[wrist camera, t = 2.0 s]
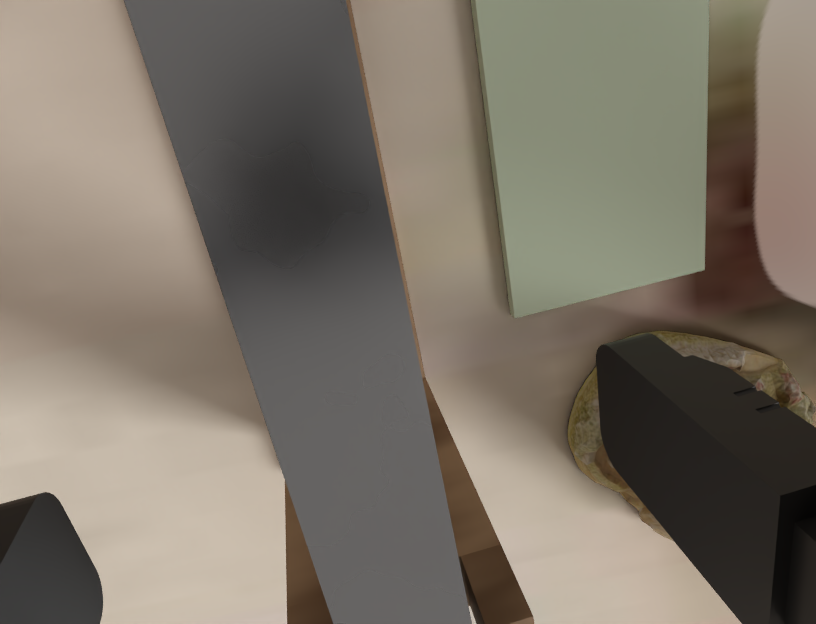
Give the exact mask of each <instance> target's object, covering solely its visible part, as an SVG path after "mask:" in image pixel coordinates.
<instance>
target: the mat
mask: <svg viewBox="0 0 816 624" xmlns="http://www.w3.org/2000/svg"><path fill="white" fill-rule="evenodd" d="M471 8H472V16H473V24H474V32H475V40H476V48H477V56H478V63H479V71H480V79H481V87H482V95H483V103H484V111H485V119H486V126H487V134H488V142H489V150H490V158H491V166H492V174H493V182H494V190H495V197H496V205H497V213H498V221H499V229H500V237H501V245H502V253H503V260H504V268H505V276H506V284H507V292H508V300H509V308H510V314H511V315H512V316H513V317H514V318H515V319H516V318H520V317H524V316H527V315H531V314H535V313H539V312H543V311H547V310H551V309H555V308H559V307H562V306H566V305H570V304H574V303H578V302H582V301H586V300H590V299H594V298H598V297H601V296H605V295H609V294H613V293H617V292H621V291H625V290H629V289H633V288H637V287H640V286H644V285H648V284H652V283H656V282H660V281H664V280H668V279H672V278H675V277H679V276H683V275H687V274H691V273H695V272H699V271H703V270H705V226H706V168H707V110H708V51H709V0H471Z"/></svg>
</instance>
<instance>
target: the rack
mask: <svg viewBox="0 0 816 624" xmlns="http://www.w3.org/2000/svg"><path fill="white" fill-rule="evenodd" d="M346 3H347V8H348V13H349V18H350V23H351V28H352V33H353V38H354V43H355V48H356V53H357V58H358V63H359V68H360V73H361V77H362V82H363V87H364V92H365V97H366V102H367V107H368V112H369V117H370V122H371V127H372V132H373V137H374V142H375V147H376V152H377V157H378V162H379V167H380V172H381V176H382V181H383V186H384V191H385V196H386V201H387V206H388V211H389V216H390V221H391V226H392V231H393V236H394V241H395V246H396V251H397V256H398V261H399V266H400V270H401V275H402V280H403V285H404V290H405V295H406V300H407V305H408V310H409V315H410V320H411V325H412V330H413V335H414V340H415V345H416V350H417V355H418V360H419V365H420V369H421V374H422V379H423V384H424V389H425V394H426V399H427V404H428V409H429V414H430V419H431V424H432V429H433V434H434V439H435V444H436V449H437V454H438V459H439V464H440V468H441V473H442V478H443V483H444V488H445V493H446V498H447V503H448V508H449V513H450V518H451V523H452V528H453V533H454V538H455V543H456V548H457V553H458V558H459V562H460V567H461V572H462V577H463V582H464V587H465V592H466V597H467V602H468V606H471V609H472V612H473V615H474V618H475V620H476V623H477V624H534V619H533V615H532V613H531V611H530V608H529V606H528V604H527V602H526V600H525V597H524V595H523V593H522V591H521V588H520V586H519V584H518V582H517V580H516V577H515V575H514V573H513V571H512V569H511V566H510V564H509V562H508V560H507V557H506V555H505V553H504V551H503V549H502V546H501V544H500V542H499V540H498V538H497V535H496V533H495V531H494V529H493V527H492V524H491V522H490V520H489V518H488V515H487V513H486V511H485V509H484V507H483V504H482V502H481V500H480V498H479V496H478V493H477V491H476V489H475V487H474V485H473V482H472V480H471V478H470V476H469V473H468V471H467V469H466V467H465V465H464V462H463V460H462V458H461V456H460V454H459V451H458V449H457V447H456V445H455V442H454V440H453V438H452V436H451V434H450V431H449V429H448V427H447V425H446V423H445V420H444V418H443V416H442V414H441V412H440V409H439V407H438V405H437V403H436V400H435V398H434V396H433V394H432V392H431V389H430V387H429V385H428V383H427V381H426V378H425V374H424V369H423V364H422V359H421V354H420V349H419V344H418V339H417V334H416V329H415V324H414V319H413V314H412V309H411V304H410V299H409V294H408V289H407V284H406V279H405V274H404V269H403V264H402V259H401V254H400V249H399V244H398V239H397V234H396V229H395V224H394V219H393V213H392V208H391V203H390V198H389V193H388V188H387V183H386V178H385V173H384V168H383V163H382V158H381V153H380V148H379V143H378V138H377V133H376V128H375V123H374V118H373V113H372V108H371V103H370V98H369V93H368V88H367V83H366V78H365V73H364V68H363V63H362V58H361V53H360V48H359V43H358V38H357V33H356V28H355V23H354V18H353V13H352V8H351V3H350V0H346ZM285 514H286V574H287V624H333V621H332V618H331V615H330V612H329V609H328V606H327V603H326V600H325V598H324V595H323V592H322V589H321V586H320V583H319V580H318V577H317V574H316V571H315V568H314V565H313V562H312V559H311V556H310V553H309V550H308V547H307V544H306V541H305V538H304V535H303V532H302V529H301V526H300V523H299V520H298V517H297V514H296V511H295V508H294V505H293V502H292V499H291V496H290V493H289V490H288V487H287V484H286V481H285Z"/></svg>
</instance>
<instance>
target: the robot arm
mask: <svg viewBox="0 0 816 624" xmlns="http://www.w3.org/2000/svg"><path fill="white" fill-rule="evenodd" d="M596 369H597V385H598V400H599V416H600V430H601V437H602V441H603V444H604V448H605V450H606V453H607V455H608V457H609V460H610V461H611V463H612V465H613V467H614V468H615V470H616V471H617V472H618V473H619V475H620V476H621V477H622V478H623V480H624V481H625V482H626V483H627V484H628V486H629V487H630V488H631V489H632V490H633V492H634V493H635V494H636V495H637V497H638V498H639V499H640V500H641V501H642V503H643V504H644V505H645V506H646V508H647V509H648V510H649V511H650V512H651V514H652V515H653V516H654V517H655V518H656V520H657V521H658V522H659V523H660V525H661V526H662V527H663V528H664V529H665V531H666V532H667V533H668V534H669V535H670V537H671V538H672V539H673V540H674V542H675V543H676V544H677V545H678V546H679V548H680V549H681V550H682V551H683V552H684V554H685V555H686V556H687V557H688V559H689V560H690V561H691V562H692V563H693V565H694V566H695V567H696V568H697V569H698V571H699V572H700V573H701V574H702V576H703V577H704V578H705V579H706V580H707V582H708V583H709V584H710V585H711V586H712V588H713V589H714V590H715V591H716V593H717V594H718V595H719V596H720V597H721V599H722V600H723V601H724V602H725V603H726V605H727V606H728V607H729V608H730V610H731V611H732V612H733V613H734V614H735V616H736V617H737V618H738V619H739V621H740V622H741V623H742V624H816V428H815V427H814V426H813V425H811V424H810V423H808V422H807V421H805V420H804V419H802V418H801V417H800V416H798V415H797V414H795V413H794V412H792V411H791V410H789V409H788V408H786V407H782V408H781V407H780V405H779V402H778V401H776V400H775V399H773V398H772V397H770V396H769V395H768V394H766V393H765V392H763V391H762V390H760V391H757V389H756V386H755V385H753V384H752V383H750V382H749V381H747V380H746V379H744V378H743V377H741V376H740V375H739V374H737V373H736V372H734V371H733V370H731V369H730V368H728V367H726V366H723V365H720V364H717V363H714V362H711V361H709V360H706V359H703V358H700V357H697V356H694V355H690V356H686V357H683V356H682V355H681V354H679V353H678V352H677V351H675V350H674V349H673V348H671V347H670V346H669V345H667V344H666V343H665V342H663V341H662V340H660V339H659V338H658V337H656V336H655V335H653V334H651V333H645V334H641V335H637V336H633V337H630V338H626V339H622V340H618V341H615V342H611V343H607V344H603V345H601V346H600V347H599V348H598V350H597V354H596ZM102 610H103V594H102V586H101V582H100V578H99V575H98V573H97V570H96V568H95V566H94V565H93V563H92V561H91V559H90V557H89V555H88V553H87V551H86V550H85V548H84V546H83V544H82V542H81V540H80V538H79V536H78V535H77V533H76V531H75V529H74V527H73V525H72V523H71V521H70V520H69V518H68V516H67V514H66V512H65V510H64V508H63V506H62V505H61V503H60V501H59V500H58V499H57V498H56V497H55V496H54V495H53V494H51V493H47V492H45V493H40V494H37V495H33V496H29V497H25V498H22V499H18V500H14V501H10V502H7V503H3V504H0V624H100V621H101V616H102Z"/></svg>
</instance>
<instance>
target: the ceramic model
mask: <svg viewBox="0 0 816 624" xmlns="http://www.w3.org/2000/svg"><path fill="white" fill-rule="evenodd" d="M645 333H651V334H653V335H655V336H656V337H658V338H659V339H660V340H662V341H663V342H665V343H666V344H667V345H669V346H670V347H671V348H673V349H674V350H675V351H677V352H678V353H679V354H681V355H682V356H683V357H686V356H690V355H694V356H697V357H700V358H703V359H706V360H709V361H711V362H714V363H717V364H720V365H723V366H726V367H728V368H730V369H731V370H733V371H734V372H736V373H737V374H739V375H740V376H741V377H743V378H744V379H746V380H747V381H749V382H750V383H752V384H753V385H755V386H756V389H757V391H760V390H762V391H763V392H765V393H766V394H768V395H769V396H770V397H772V398H773V399H775V400H776V401H778V402H779V405H780V407H781V408H782V407H786V408H788V409H789V410H791V411H792V412H794V413H795V414H797V415H798V416H800V417H801V418H802V419H804V420H805V421H807V422H808V423H810V424H813V419H812V416H813V414H814V412H815V406H814V404H813V403H812V402H811V400H810V399H809V397H808V396H807V395H806V394H805V392H801V389H800V386H799V383H798V382H797V381H796V379H795V378H794V376H793V375H792V373H791V372H790V370H789V369H788V367H787V366H786V365H785V363H784V362H783V360H782V359H777V358H775V357H772V356H770V355H767V354H764V353H761V352H758V351H755V350H753V349H749V348H746V347H742V346H740V345H737V344H735V343H733V342H726V341H721V340H718V339H714V338H709V337H705V336H699V335H692V334H688V333H679V332H669V331H653V332H645ZM645 333H639V334H635V335H631V336H628V337H626V338H630V337H633V336H637V335H641V334H645ZM626 338H624V339H626ZM568 442H569V445H570V449H571V451H572V453H573V455H574V458H575V461H576V463H577V465H578V467H579V468H580V470H581V471H582V472H583V473H584V474H586V475H587V476H588V477H589V478H590V479H592V480H593V481H594V482H596V483H599V484H601V485H603V486H605V487H607V488H610V489H612V490H614V491H616V492H619V493H620V494H621V495H622V496H623V497H624V499H625V500H626V501H627V502H629V503H630V504H631V505H633V506H634V507H635V508H636V509H637V510H638V511H639V516H640V518H641V520H642V521H643V522H644V523H646V524H647V525H649V526H650V527H651V528H652V529H653V530H654V531H655V532H657V533H658V534H660V535H662V536H664V537H666V538H668V539H670V540H672V541H674V540H673V539H672V538H671V537H670V535H669V534H668V533H667V532H666V531H665V529H664V528H663V527H662V526H661V525H660V523H659V522H658V521H657V520H656V518H655V517H654V516H653V515H652V514H651V512H650V511H649V510H648V509H647V508H646V506H645V505H644V504H643V503H642V501H641V500H640V499H639V498H638V497H637V495H636V494H635V493H634V492H633V490H632V489H631V488H630V487H629V486H628V484H627V483H626V482H625V481H624V480H623V478H622V477H621V476H620V475H619V473H618V472H617V471H616V470H615V468H614V467H613V465H612V463H611V461H610V460H609V457H608V455H607V453H606V450H605V448H604V444H603V441H602V437H601V430H600V416H599V400H598V385H597V369H596V367H595V368H594V370H593V371H592V373H591V374H590V375H589V377H588V378H587V379H586V380H585V382H584V384H583V386H582V387H581V389H580V390H579V392H578V394H577V397H576V399H575V402H574V405H573V409H572V412H571V416H570V418H569V424H568Z"/></svg>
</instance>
